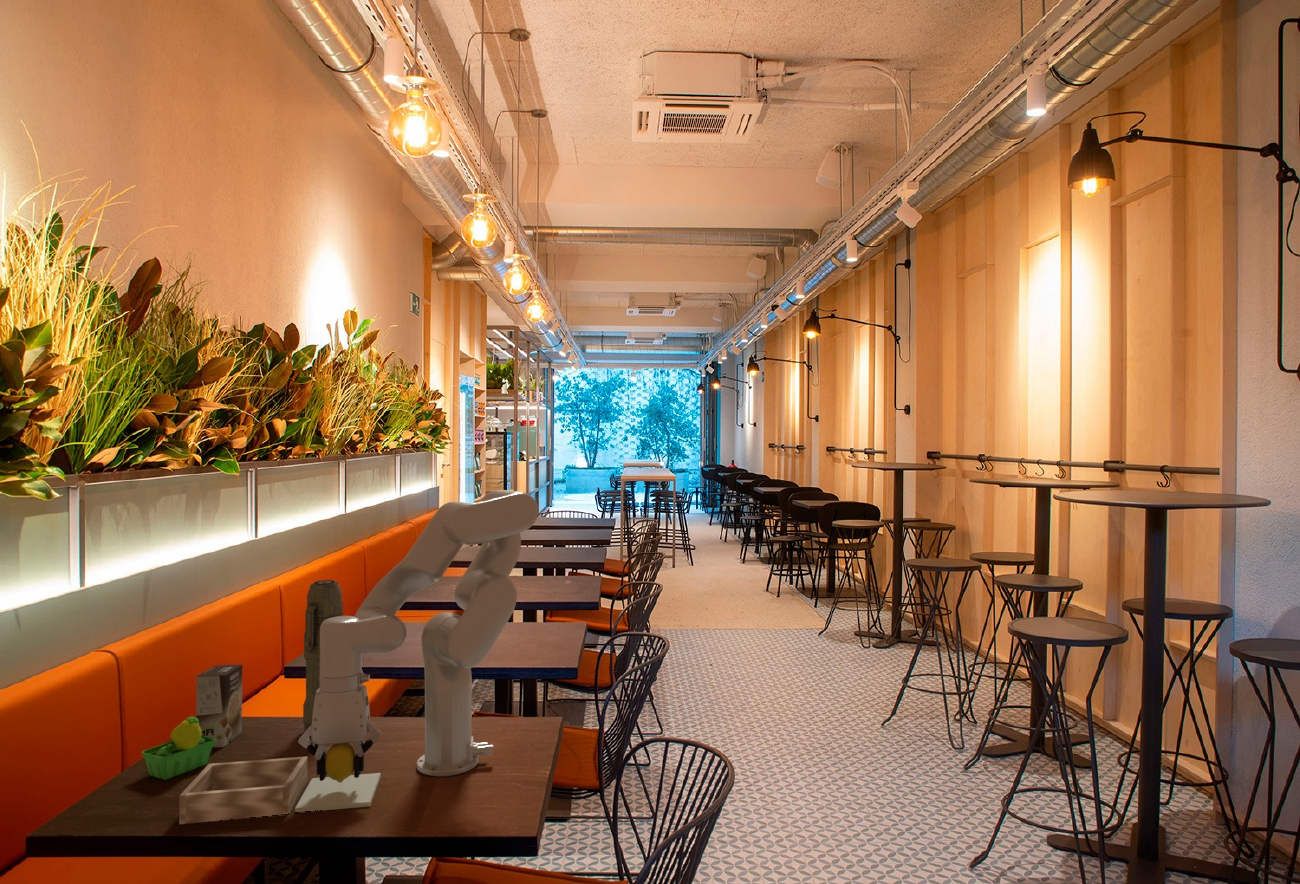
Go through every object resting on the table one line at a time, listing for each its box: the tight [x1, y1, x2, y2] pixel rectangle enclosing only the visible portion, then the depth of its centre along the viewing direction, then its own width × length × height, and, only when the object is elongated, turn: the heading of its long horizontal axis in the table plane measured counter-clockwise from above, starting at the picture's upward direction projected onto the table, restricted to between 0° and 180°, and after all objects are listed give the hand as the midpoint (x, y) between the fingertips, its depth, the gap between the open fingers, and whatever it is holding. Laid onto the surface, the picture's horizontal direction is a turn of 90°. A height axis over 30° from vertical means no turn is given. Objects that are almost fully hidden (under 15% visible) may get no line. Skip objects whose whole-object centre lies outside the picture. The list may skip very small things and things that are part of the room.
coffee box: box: [195, 664, 243, 748], centre depth 174 cm, size 9×6×16 cm
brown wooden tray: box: [178, 756, 309, 825], centre depth 143 cm, size 18×14×5 cm
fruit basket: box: [141, 716, 215, 781], centre depth 157 cm, size 11×9×11 cm
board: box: [294, 772, 382, 813], centre depth 146 cm, size 13×13×1 cm
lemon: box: [325, 743, 356, 783], centre depth 147 cm, size 6×6×8 cm
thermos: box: [302, 579, 344, 734], centre depth 180 cm, size 9×12×35 cm
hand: (340, 775), depth 147 cm, fingers closed on lemon, 5 cm apart
